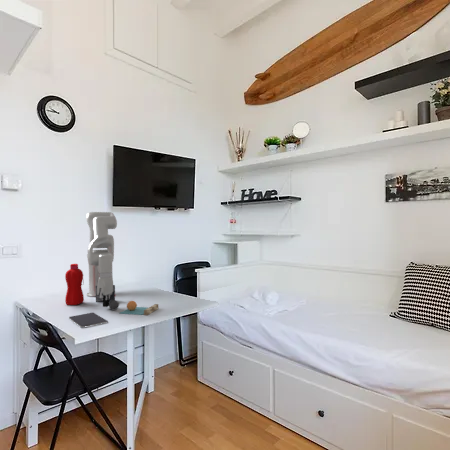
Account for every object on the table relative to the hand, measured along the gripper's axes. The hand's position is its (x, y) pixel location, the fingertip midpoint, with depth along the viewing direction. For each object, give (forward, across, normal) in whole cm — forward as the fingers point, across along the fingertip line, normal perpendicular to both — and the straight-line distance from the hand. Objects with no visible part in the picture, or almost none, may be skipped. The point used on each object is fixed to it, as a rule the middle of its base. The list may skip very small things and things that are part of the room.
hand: (106, 306), depth 188 cm
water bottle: (+2, -7, -26) cm, 27 cm away
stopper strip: (+2, 0, +29) cm, 29 cm away
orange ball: (-1, 0, +17) cm, 17 cm away
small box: (+2, -16, -11) cm, 19 cm away
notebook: (+2, +22, +4) cm, 22 cm away
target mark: (+2, 0, +20) cm, 20 cm away
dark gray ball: (-1, 0, +6) cm, 6 cm away
